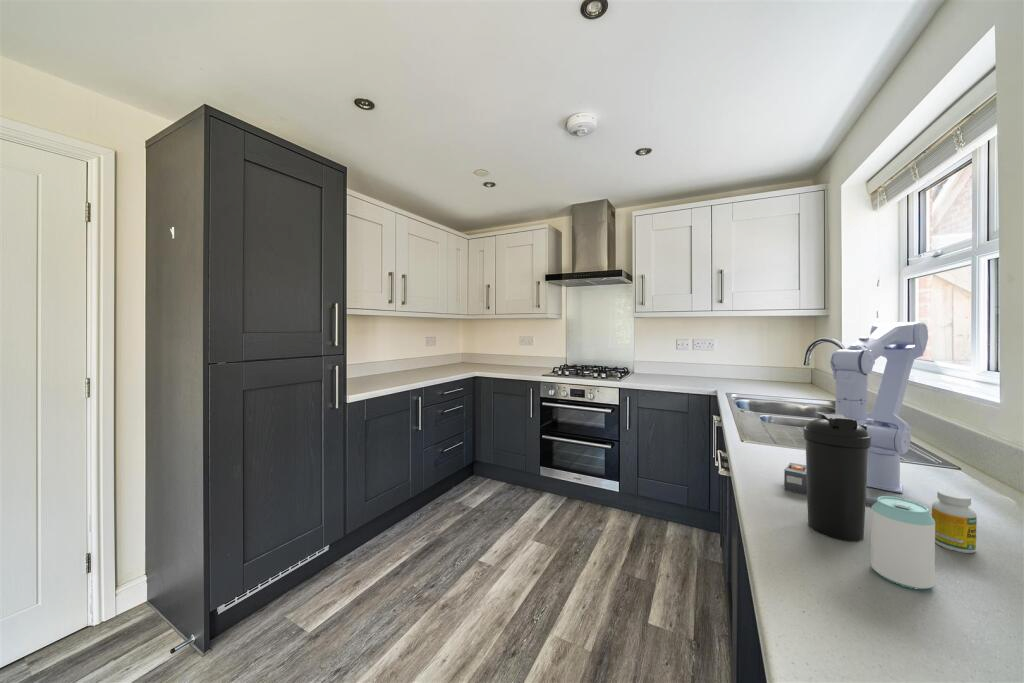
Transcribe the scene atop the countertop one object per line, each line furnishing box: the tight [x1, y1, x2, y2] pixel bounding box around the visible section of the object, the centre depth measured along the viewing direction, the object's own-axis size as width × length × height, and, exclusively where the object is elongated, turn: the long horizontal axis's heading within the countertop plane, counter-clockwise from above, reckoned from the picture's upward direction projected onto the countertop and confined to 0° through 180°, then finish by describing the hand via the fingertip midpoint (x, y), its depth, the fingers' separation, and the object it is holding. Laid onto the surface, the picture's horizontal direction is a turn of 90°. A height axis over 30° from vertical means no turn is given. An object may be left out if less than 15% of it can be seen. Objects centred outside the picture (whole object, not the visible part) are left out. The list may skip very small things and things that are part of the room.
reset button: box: [791, 465, 803, 471], centre depth 96 cm, size 2×2×4 cm
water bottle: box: [802, 411, 871, 542], centre depth 75 cm, size 10×10×23 cm
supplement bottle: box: [931, 489, 978, 554], centre depth 69 cm, size 5×5×10 cm
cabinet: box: [783, 462, 807, 496], centre depth 96 cm, size 8×6×5 cm
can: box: [870, 495, 936, 590], centre depth 60 cm, size 7×7×12 cm
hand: (850, 455), depth 91 cm, fingers closed
